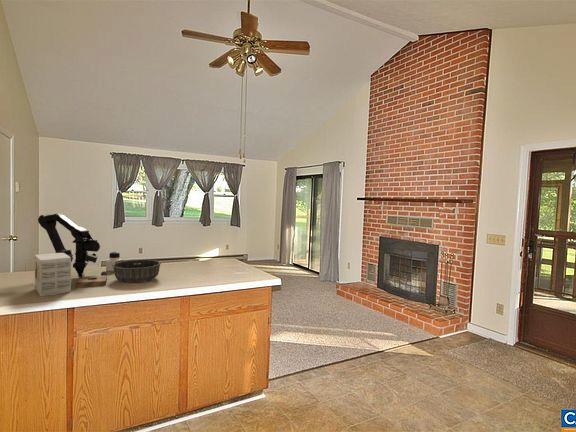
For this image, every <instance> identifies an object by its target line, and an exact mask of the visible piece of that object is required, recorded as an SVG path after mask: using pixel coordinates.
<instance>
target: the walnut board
mask: <svg viewBox="0 0 576 432" xmlns="http://www.w3.org/2000/svg"><path fill="white" fill-rule="evenodd" d="M107 282H108V274H107V275H104V276H101V275H92V276H91V275H90V276H89V275H87V276H84V277H79V278H77V281H76V282H75V288H87V287H88V288H89V287H100V286H101V287H102V286H106V285H107Z"/></svg>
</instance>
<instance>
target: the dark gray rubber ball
mask: <svg viewBox="0 0 576 432" xmlns="http://www.w3.org/2000/svg"><path fill="white" fill-rule="evenodd" d="M104 275H107V276H108V271H106V270H103V271H101V272H100V276H104Z"/></svg>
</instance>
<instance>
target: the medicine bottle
mask: <svg viewBox="0 0 576 432" xmlns="http://www.w3.org/2000/svg"><path fill="white" fill-rule="evenodd" d="M120 256H121V254H120V252H118V251H112V252H110V253H109V256H108V257H109V259H107V260H106V262H105V271H106V272H111V273H114V268H113V266H112V265H113V264H115V263H118V262H122V261H124V260H123V259H122V258H121V257H120Z"/></svg>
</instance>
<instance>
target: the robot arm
mask: <svg viewBox="0 0 576 432" xmlns="http://www.w3.org/2000/svg"><path fill="white" fill-rule="evenodd" d="M37 221H38V224H39V225H40V227H41V228H42V229H44V230H45V232H46V234H47V235H48V237H49V240H50V241H51V245H52V246H53V249H54V251H55V252H54V253H65V254H67V255H68V256H70V257H71V263H72V261H73V260H74V259H75V260H74V263H72V268H73V269H75V271H76V273H77V276H78V275H79V277H82V274H83V273H84V271H85V268H86V267H87V266H88V264H89V262H92V263H93V264H95V263H96V262H97V260H98V258H99V257H98V255H97V254H96V253H97V252H98V251H99V250H100V249H101V245H100V243H99V242H98V239H94V238H93V237H92V235H91V234H90V231H89V230H88V229H86V228H85V227H83V226H79V225H77V224H76V223H74V222H73V220H71V219H69V218H68V217H66V215H64V214H63V213H61V212H60V213H53V214H40V215H39V216H38V219H37ZM57 223H59V224H60V225H61V226H63V227H64V228H65V229H67V230H68V231H69V233H70V234H71V236H72V237H73V238H74V239H73V241H72V243H73V244H75V253H74V255H75V258H73V257H74V255H73V254H72V251H71V250H70V249H67V248H66V247H65V245H64V244H63V242H62V239H61V237H60V234H59V232H58V230H57ZM89 252H93V253H92V254H91V253H90V254H89Z"/></svg>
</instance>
